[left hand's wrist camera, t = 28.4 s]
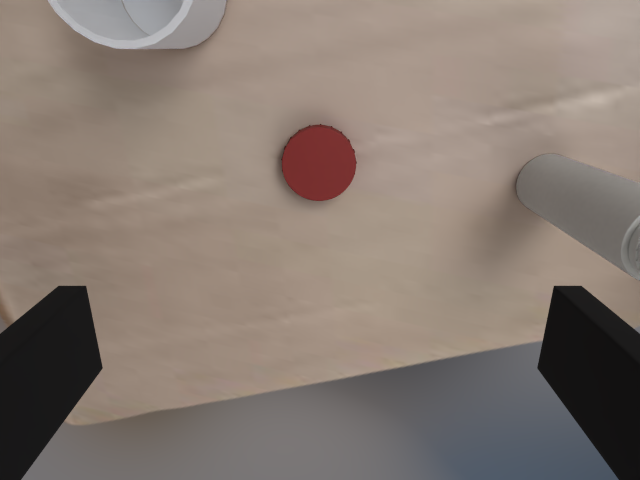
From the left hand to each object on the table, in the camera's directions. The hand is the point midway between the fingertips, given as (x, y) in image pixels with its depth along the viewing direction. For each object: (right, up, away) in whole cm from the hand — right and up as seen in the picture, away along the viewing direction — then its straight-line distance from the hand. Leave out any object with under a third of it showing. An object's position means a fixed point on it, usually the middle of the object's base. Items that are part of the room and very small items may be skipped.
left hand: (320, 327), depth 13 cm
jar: (+19, +7, +26) cm, 33 cm away
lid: (0, +9, +24) cm, 26 cm away
